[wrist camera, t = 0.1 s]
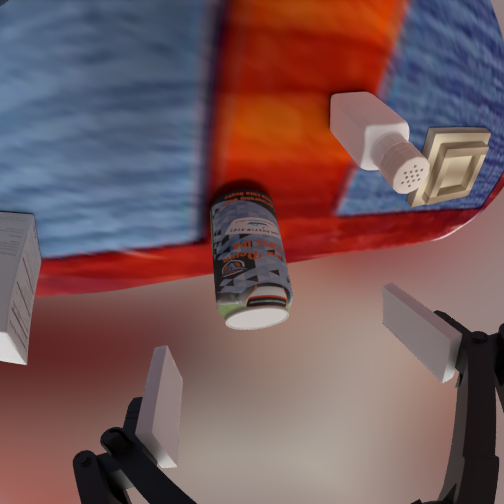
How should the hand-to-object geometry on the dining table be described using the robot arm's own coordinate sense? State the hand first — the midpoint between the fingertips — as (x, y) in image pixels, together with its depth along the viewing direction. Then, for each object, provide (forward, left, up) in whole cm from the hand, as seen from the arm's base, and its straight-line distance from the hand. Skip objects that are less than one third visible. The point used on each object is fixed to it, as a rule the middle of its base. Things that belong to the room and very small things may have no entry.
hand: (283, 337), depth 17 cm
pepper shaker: (-5, +11, -16) cm, 19 cm away
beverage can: (+4, 0, -16) cm, 16 cm away
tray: (+3, +27, -15) cm, 31 cm away
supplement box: (-1, -24, -16) cm, 29 cm away
